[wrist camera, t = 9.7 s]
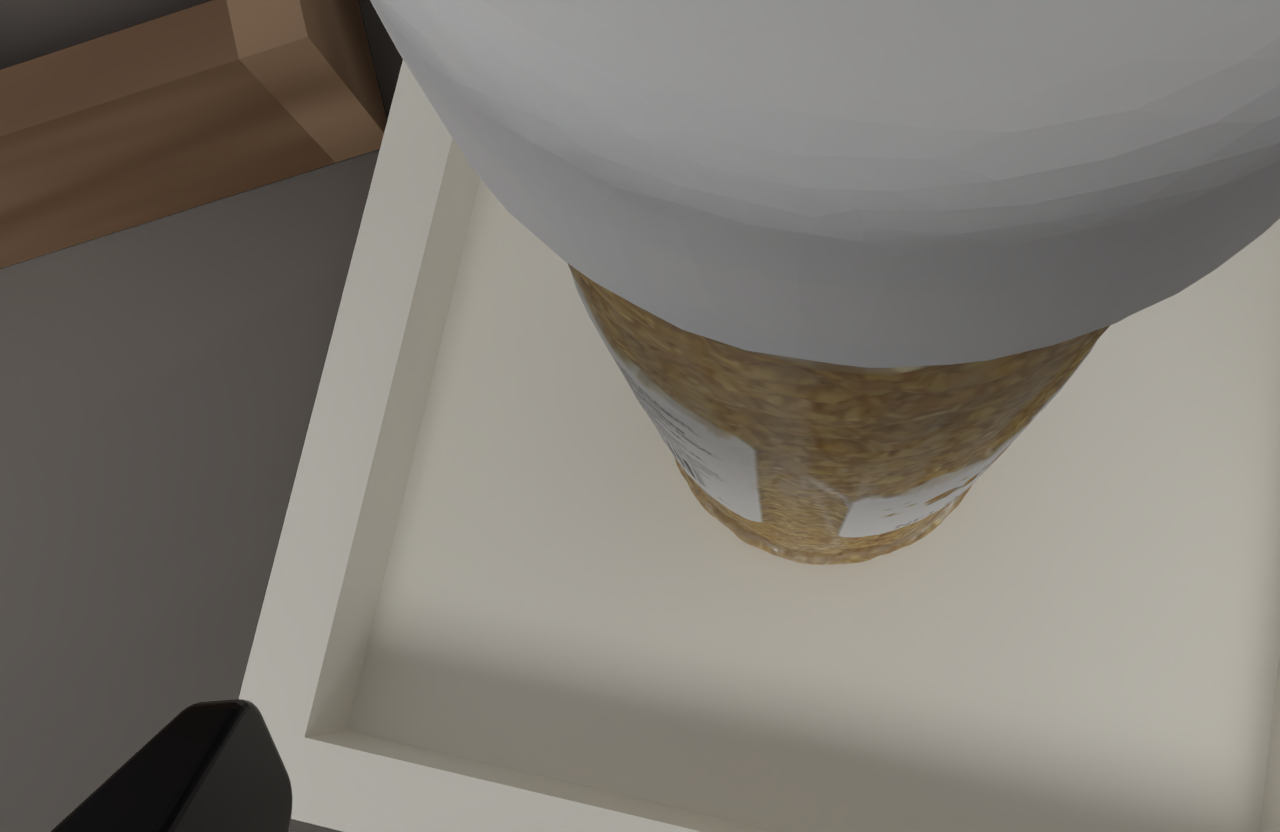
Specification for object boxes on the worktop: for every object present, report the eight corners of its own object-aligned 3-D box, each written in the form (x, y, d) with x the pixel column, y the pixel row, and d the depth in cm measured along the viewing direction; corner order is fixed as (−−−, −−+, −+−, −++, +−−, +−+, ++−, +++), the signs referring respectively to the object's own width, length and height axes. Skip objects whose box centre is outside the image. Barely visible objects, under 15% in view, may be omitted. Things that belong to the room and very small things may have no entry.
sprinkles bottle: (999, 565, 16) (1918, 168, 3) (662, 568, 17) (173, 252, 3) (979, 241, 17) (1614, -1164, 4) (661, 255, 17) (263, -928, 4)
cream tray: (1291, 1022, 15) (1383, 1091, 13) (293, 779, 18) (212, 799, 15) (1395, 37, 18) (1490, -62, 15) (501, -66, 20) (460, -165, 18)
